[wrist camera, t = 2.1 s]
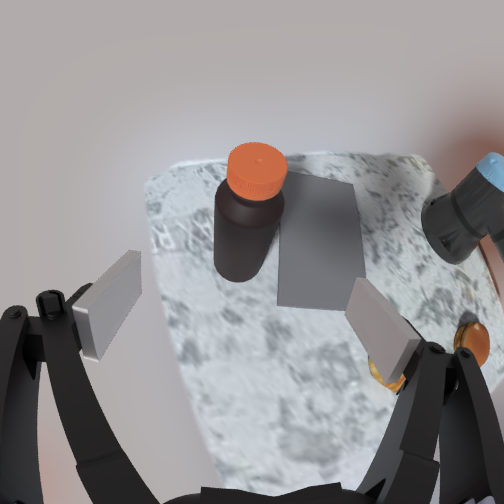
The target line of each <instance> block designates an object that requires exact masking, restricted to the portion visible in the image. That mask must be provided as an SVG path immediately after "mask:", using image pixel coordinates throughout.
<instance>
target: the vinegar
mask: <svg viewBox="0 0 504 504" xmlns="http://www.w3.org/2000/svg"><path fill="white" fill-rule="evenodd" d="M287 171H288V164H287V161H286V159H285V157H284V156H283V154H282V153H281V152H279V151H278V150H277V149H276V148H274V147H272V146H269V145H267V144H263V143H245V144H242V145H239V146H237V147H236V148H235V149H234V150H233V151H231V153H230V155H229V158H228V166H227V178H226V179H224V181H223V182H222V183H221V184H220V185H219V187H218V189H217V192H216V195H215V210H214V265H215V267H216V270H217V272H218V273H219V274H220V275H221V276H222V277H223V278H225V279H227V280H229V281H232V282H245V281H247V280H250V279H252V278H253V277H254V276H255V275H256V274H257V273H258V271H259V269H260V268H261V265H262V263H263V260H264V258H265V256H266V253H267V251H268V249H269V246H270V244H271V241H272V239H273V237H274V234H275V232H276V229H277V227H278V224H279V222H280V220H281V217H282V215H283V212H284V206H285V200H284V196H283V192H282V191H281V188H282V186H283V183H284V180H285V177H286V174H287Z"/></svg>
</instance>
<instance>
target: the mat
mask: <svg viewBox="0 0 504 504" xmlns="http://www.w3.org/2000/svg"><path fill="white" fill-rule="evenodd" d="M281 191H282V192H283V196H284V200H285V206H284V212H283V215H282V217H281V220H280V239H279V270H278V295H277V306H284V307H296V308H308V309H323V310H339V311H346V309H347V306H348V303H349V300H350V296H351V293H352V290H353V287H354V284H355V280H356V277H359V278H366V272H365V262H364V253H363V245H362V237H361V230H360V223H359V216H358V210H357V204H356V198H355V193H354V187H353V184H348V183H344V182H339V181H335V180H330V179H325V178H320V177H315V176H310V175H305V174H299V173H294V172H288V171H287V174H286V177H285V180H284V183H283V186H282V188H281Z"/></svg>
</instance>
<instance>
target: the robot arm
mask: <svg viewBox="0 0 504 504" xmlns="http://www.w3.org/2000/svg"><path fill="white" fill-rule="evenodd" d="M421 220H422V226H423V230H424V233H425V235H426V237H427V240H428V241H429V243H430V245H431V246H432V248H433V249H434V251H435V252H436V253H437V254H438V255H439V256H440V257H441V258H442V259H443V260H445V261H446V262H448V263H450V264H454V265H456V264H460V263H461V262H463V261H464V260H466V259H467V258H468V257H469V256H470V254H471V253H472V252H473V250H474V249H475V247H476V246H477V244H478V243H479V241H480V240H481V239H482V238H483V237H485V236H486V235H487V234H489V235H490V237H491V239H492V241H493V242H494V244H495V246H496V248H497V250H498V252H499V254H500V256H501V258H502V260H503V262H504V157H503V156H501V155H500V154H498V153H494V152H491V153H489V154H487V155H486V156H485V157H484V158H483V159H482V160H481V161H480V162H478V163H477V164H476V167H475V168H474V169H473V170H472V171H471V172H470V173H469V174H468V175H467V177H465V178H464V179H463V180H462V181H461V182H460V184H458V185H457V186H456V188H455V189H454V190H453V191H452V192H450V193H448V194H445V195H443V196H441V197H438V198H436V199H433V200H432V201H430V202H429V203H428V204H427V205H426V206H425V207H424V208H423V211H422V215H421ZM141 292H142V289H141V252H140V251H133V250H129V251H128V252H127V253H125V255H123V256H122V257H121V258H120V259H119V260H118V261H117V262H116V263H115V264H114V265H113V266H111V268H109V269H108V270H107V271H106V272H105V273H104V274H103V275H102V276H101V277H100V278H99V279H98V280H97V281H96V282H95V283H94V284H93V283H88V284H86V285H84V286H82V287H81V288H80V289H78V290H77V292H76V293H74V294H73V295H72V297H70V298H69V299H68V300H67V301H66V302H65V298H64V295H63V293H62V292H60V291H58V290H48V291H44V292H42V293H40V294H39V295H38V296H37V297H36V303H37V307H38V312H39V316H40V317H34V316H28V313H27V309H26V308H25V307H23V306H19V305H17V306H12V307H9V308H8V309H7V310H5V312H4V313H3V315H2V318H1V320H0V504H44V503H43V494H42V488H41V481H40V472H39V463H38V462H39V461H38V446H37V409H38V408H37V407H38V392H39V380H40V372H41V364H42V362H46V363H47V368H48V373H49V378H50V382H51V386H52V390H53V395H54V398H55V402H56V405H57V409H58V412H59V416H60V419H61V422H62V425H63V428H64V431H65V434H66V436H67V439H68V442H69V445H70V447H71V449H72V452H73V455H74V457H75V459H76V462H77V465H76V469H77V472H78V475H79V477H80V479H81V481H82V483H83V485H84V487H85V489H86V491H87V493H88V495H89V497H90V499H91V501H92V502H93V504H160V503H159V502H158V500H157V499H156V498H155V497H154V495H153V494H152V493H151V491H150V490H149V488H148V487H147V486H146V484H145V483H144V481H143V480H142V479H141V477H140V475H139V474H138V472H137V471H136V469H135V468H134V466H133V465H132V463H131V462H130V460H129V458H128V457H127V455H126V453H125V452H124V451H123V449H122V448H121V446H120V444H119V443H118V441H117V439H116V437H115V436H114V433H113V431H112V430H111V428H110V426H109V424H108V422H107V420H106V418H105V416H104V413H103V412H102V409H101V407H100V405H99V403H98V400H97V399H96V396H95V394H94V391H93V389H92V386H91V384H90V381H89V379H88V376H87V374H86V371H85V368H84V366H83V363H82V360H81V357H80V354H79V351H80V350H81V349H82V351H83V355H84V358H85V359H88V360H92V361H95V362H99V361H100V360H101V358H102V356H103V355H104V353H105V351H106V349H107V348H108V346H109V344H110V343H111V341H112V339H113V338H114V336H115V334H116V333H117V331H118V329H119V328H120V326H121V325H122V323H123V321H124V320H125V318H126V317H127V315H128V313H129V312H130V310H131V309H132V307H133V306H134V304H135V302H136V301H137V299H138V298H139V296H140V295H141ZM345 317H346V318H347V320H348V321H349V323H350V325H351V326H352V328H353V330H354V331H355V333H356V335H357V336H358V338H359V340H360V341H361V343H362V345H363V346H364V348H365V350H366V352H367V353H368V355H369V357H370V358H371V360H372V362H373V364H374V365H375V367H376V369H377V371H378V372H379V374H380V376H381V378H382V379H383V381H384V383H385V384H392V383H397V382H398V381H399V379H400V377H401V375H402V374H403V375H404V376H405V378H406V379H405V381H404V382H403V384H402V385H401V387H400V389H399V390H398V392H397V393H396V395H398V394H399V396H398V399H397V402H396V405H395V408H394V411H393V414H392V416H391V419H390V422H389V424H388V427H387V429H386V432H385V434H384V437H383V439H382V441H381V444H380V446H379V448H378V451H377V453H376V455H375V457H374V459H373V461H372V463H371V465H370V467H369V469H368V471H367V473H366V475H365V477H364V479H363V481H362V483H361V484H360V486H359V487H358V488H357V490H356V491H352V490H347V489H342V487H341V483H340V482H337V483H331V484H325V485H318V486H310V487H307V488H304V489H300V490H297V491H294V492H291V493H287V494H284V495H280V496H267V495H261V494H256V493H251V492H247V491H242V490H238V489H222V488H210V487H201V493H198V494H189V495H184V496H181V497H177V498H174V499H172V500H169V501H167V502H165V503H163V504H430V501H431V498H432V495H433V491H434V488H435V484H436V480H437V477H438V473H439V468H440V497H439V504H504V442H503V438H502V434H501V430H500V426H499V423H498V419H497V415H496V412H495V409H494V406H493V402H492V399H491V396H490V393H489V391H488V388H487V385H486V382H485V380H484V377H483V374H482V372H481V369H480V367H479V365H478V362H477V360H476V357H475V355H474V354H473V352H472V351H471V350H470V349H468V348H467V347H461V346H459V347H457V348H456V350H455V352H454V354H448V353H446V351H445V349H444V348H443V347H442V346H441V345H439V344H437V343H435V342H426V340H425V339H424V338H423V337H422V336H421V335H420V333H419V332H418V331H416V329H415V328H414V327H413V326H412V324H411V323H410V322H409V321H408V320H407V319H405V318H404V317H402V316H401V315H400V314H399V313H398V311H397V310H396V309H395V308H394V307H393V306H392V305H391V304H390V303H389V302H388V301H387V299H386V298H385V297H384V296H383V295H382V294H381V293H380V292H379V291H378V290H377V289H376V288H375V287H374V286H373V284H372V283H371V282H370V281H369V280H368V279H367V278H359V277H356V280H355V284H354V287H353V290H352V293H351V296H350V300H349V303H348V306H347V309H346V312H345ZM457 386H458V388H457ZM456 388H457V390H456ZM438 434H439V448H440V464H439V462H438V461H435V460H433V457H434V453H435V448H436V443H437V439H438Z"/></svg>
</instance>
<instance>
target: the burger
mask: <svg viewBox="0 0 504 504" xmlns="http://www.w3.org/2000/svg"><path fill="white" fill-rule="evenodd" d="M459 346H461V347H467V348H468V349H470V350H471V351H472V352H473V354H474V355H475V357H476V360H477V362H478V365H479V367H481V366H482V365H483V364H484V363H485V362H486V360H487V358H488V355H489V350H490V340H489V334H488V331H487V329H486V327H485V326H484V325H483V324H481V323H479V322H476V323H475V322H469V323H467V324H466V325H465V326H462V327H460V328H459V329H458V331H457V333H456V336H455V338H454V350H456V348H457V347H459Z"/></svg>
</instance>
